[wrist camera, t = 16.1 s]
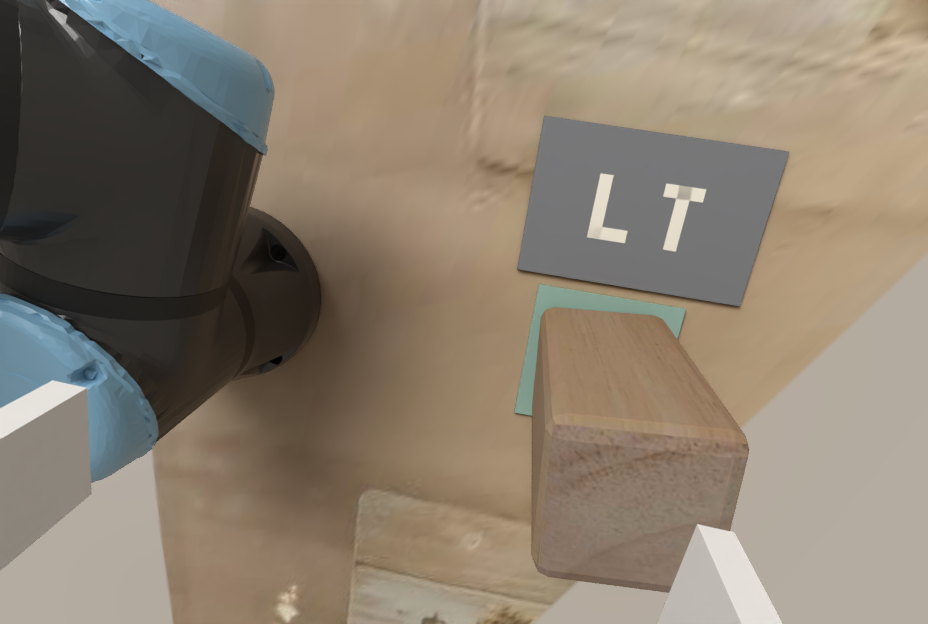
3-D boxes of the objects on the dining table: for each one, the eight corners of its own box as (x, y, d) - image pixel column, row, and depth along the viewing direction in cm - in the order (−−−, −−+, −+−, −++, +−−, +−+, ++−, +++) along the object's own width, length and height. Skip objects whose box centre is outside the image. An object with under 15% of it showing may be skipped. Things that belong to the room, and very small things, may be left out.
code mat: (517, 268, 45) (517, 269, 45) (544, 115, 42) (544, 115, 41) (738, 305, 44) (740, 306, 44) (787, 151, 40) (789, 151, 40)
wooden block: (646, 421, 48) (719, 607, 29) (531, 409, 49) (529, 582, 30) (665, 312, 45) (761, 442, 26) (541, 302, 46) (547, 420, 27)
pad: (514, 410, 49) (514, 412, 49) (539, 283, 46) (539, 284, 45) (648, 435, 49) (649, 437, 48) (684, 308, 45) (685, 309, 44)
